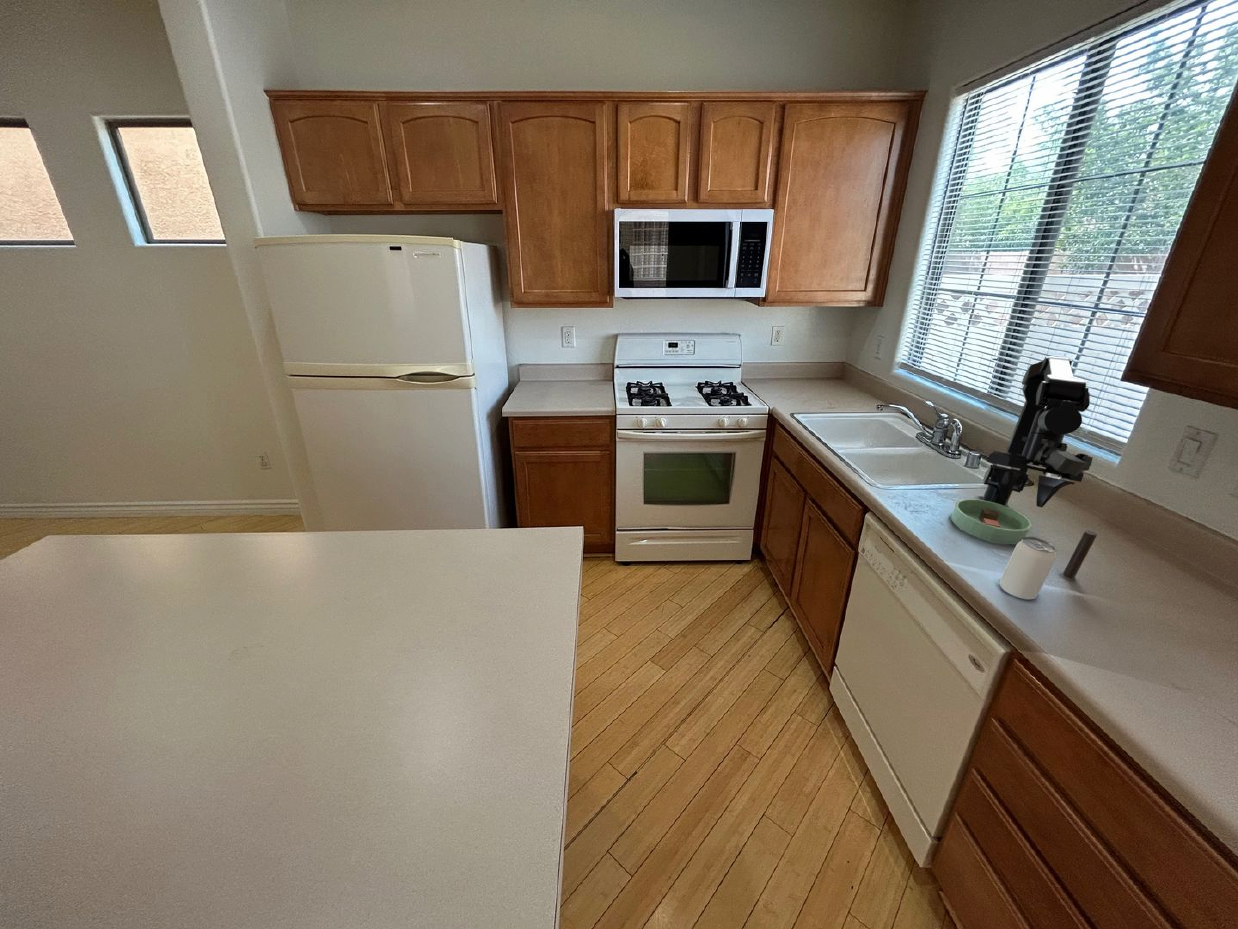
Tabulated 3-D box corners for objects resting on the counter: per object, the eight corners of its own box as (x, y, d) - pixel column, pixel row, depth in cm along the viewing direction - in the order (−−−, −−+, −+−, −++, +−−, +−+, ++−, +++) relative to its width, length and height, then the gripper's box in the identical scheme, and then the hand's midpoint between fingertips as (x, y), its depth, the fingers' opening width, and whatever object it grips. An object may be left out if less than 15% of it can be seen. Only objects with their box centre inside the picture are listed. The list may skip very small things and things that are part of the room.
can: (1022, 582, 105) (1044, 536, 100) (1043, 602, 99) (1068, 554, 94) (991, 580, 105) (1012, 534, 100) (1010, 599, 99) (1033, 552, 94)
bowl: (946, 508, 135) (951, 494, 133) (1014, 521, 129) (1021, 507, 127) (956, 535, 122) (962, 520, 120) (1033, 552, 116) (1041, 537, 114)
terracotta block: (979, 527, 124) (983, 518, 123) (993, 530, 123) (997, 520, 122) (982, 533, 122) (986, 523, 121) (996, 536, 121) (1000, 526, 120)
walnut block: (978, 517, 129) (982, 508, 128) (992, 520, 128) (995, 510, 127) (981, 522, 127) (985, 513, 126) (994, 525, 126) (998, 515, 125)
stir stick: (1060, 574, 108) (1083, 529, 103) (1071, 576, 107) (1095, 531, 102) (1063, 579, 106) (1087, 533, 101) (1074, 581, 106) (1099, 536, 101)
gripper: (1046, 431, 95) (1019, 505, 97) (1123, 449, 97) (1095, 521, 100) (996, 425, 106) (974, 492, 108) (1067, 442, 108) (1043, 507, 111)
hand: (1021, 503), depth 106 cm, fingers open, 9 cm apart
